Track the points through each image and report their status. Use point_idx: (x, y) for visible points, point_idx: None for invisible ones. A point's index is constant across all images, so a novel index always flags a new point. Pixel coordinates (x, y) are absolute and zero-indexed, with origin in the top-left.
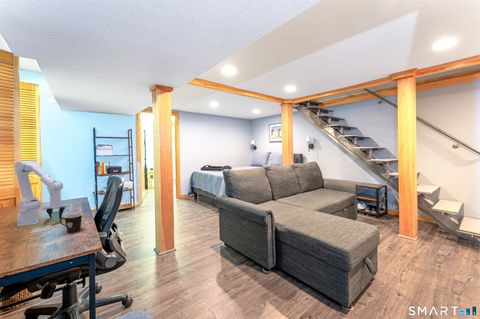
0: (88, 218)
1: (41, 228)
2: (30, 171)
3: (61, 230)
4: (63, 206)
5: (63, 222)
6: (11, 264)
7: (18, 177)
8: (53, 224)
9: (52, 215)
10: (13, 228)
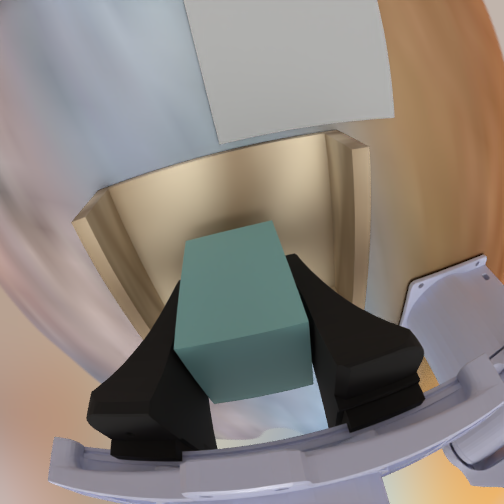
0: (47, 331)
1: (324, 83)
2: None
3: (54, 3)
4: (98, 472)
5: (175, 268)
6: None
7: None
8: (255, 222)
9: (279, 292)
10: (495, 222)
